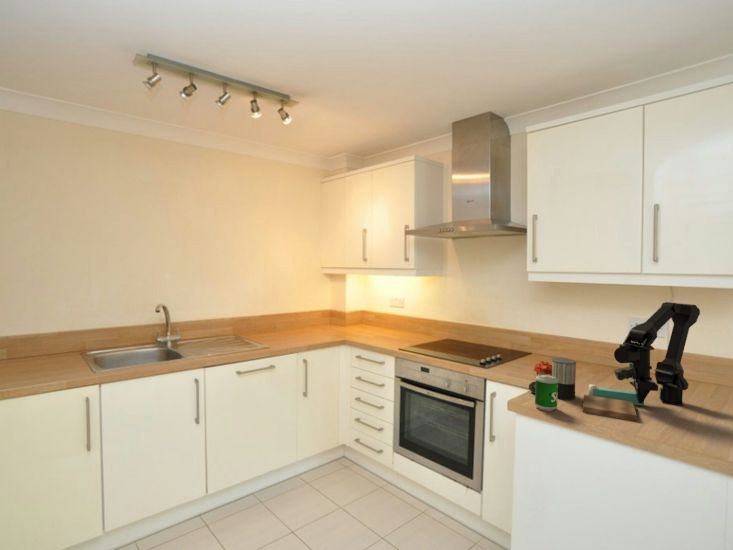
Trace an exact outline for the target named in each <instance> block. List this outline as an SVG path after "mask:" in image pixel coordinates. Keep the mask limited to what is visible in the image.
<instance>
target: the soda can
mask: <svg viewBox="0 0 733 550" xmlns="http://www.w3.org/2000/svg"><path fill="white" fill-rule="evenodd" d="M534 382H535V393H534V406H536V407H537V409H538V410H541V411H546V412H554V411H555V410H556V409H557V408H558V398H557V396H558V379H557V378H556V377H555V376H553V375H549V374H539V375H538V376H537V375H536V377H535V381H534ZM554 409H555V410H554ZM553 410H554V411H553Z"/></svg>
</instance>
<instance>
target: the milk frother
mask: <svg viewBox="0 0 733 550" xmlns="http://www.w3.org/2000/svg"><path fill="white" fill-rule="evenodd" d="M577 364H578V361H576V360H575V359H571V358H566V357H553V358H551V365H552V375H553V376H555V377H556V378H557V379H558V396H557V399H559V398H561V399H560V400H565V399H573V400H575V399H576V398H577V396H576V374H577V373H576V372H577ZM535 382H536V381H531V382H530V383H529V384H528V390H529V391H530V392H532V393H533V394H535Z"/></svg>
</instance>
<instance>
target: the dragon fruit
mask: <svg viewBox="0 0 733 550" xmlns="http://www.w3.org/2000/svg"><path fill="white" fill-rule="evenodd" d="M533 371H534V372H535V373H536V377H537V376H538V375H539V374H549V375H552V364H550V363H549V362H548V361H545V360H542V361H538V362H537V363H535V365H534V368H533Z"/></svg>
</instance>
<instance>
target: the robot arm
mask: <svg viewBox="0 0 733 550" xmlns="http://www.w3.org/2000/svg"><path fill="white" fill-rule="evenodd" d="M700 315H701V310H700V308H699V307H698V306H697V305H696V304H689V303H679V302H678V303H677V302H671V301H665V302H662V303H661V307H659V308H657V310H656V311H655V312H654V313H652V315H651V316H650V317H649V318H648V319H647V320H646V321H645V322H642V323H639V324H637V325H635V326H633V327H632V328H631V329H630V330H629V332H628V334H627V335H626V337H625V339H624V340H623V343H622V344H621V343H619V346H618V348H616V349H615V351H614V352H613V356H614V359H615V361H616V362H617V363H620V364H628V366H624V367H621V368H615V369H613V372H614V375H615V378H616V380H618V381H624V380H625V379H626V380H629V379H631V381H629V384H630V385H631V386H633V388H634V392H636V395H637V399H638V403H641V404H642V403H643V401H644V402H645V399H646V398H647V397H648V395H649V393H650V392H653V391H654V392H659V393H658V394H659V395H658V396H659V400H660V401H661V403H664V404H669V405H675V406H684V403H683V395H684V394H683V393H684V392H683V391H687V390H688V388H689V382H688V381H687V379H686V378H685V377H684V373H685V371H684V369H683V366H682V364H681V363H682V362H681V361H682V359H683V354H684V351H685V347H686V343H687V340H688V335H689V331H690V328H691V327H692V326H694V325H695V324H696V323H697V322H698V318H699V316H700ZM670 319H671V321H672V323H673V326H672V329H671V333H670V337H669V342H668V346H667V350H666V353H665V356H664V359H663V360H661V361H657V362H656V366H655V369H654V376H655V381H656V382H655V381H654V380H653V378H652V377H651V370H652V369H653V366H652V365H651V351H654V350H655V348H654V346H652V344H653V343H654V342H655V341H656V339H657V338H658V332H659V330H661V328H663V327H664V326H665V324H667V323H668V322H669V320H670ZM659 385H660V388H659Z"/></svg>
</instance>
